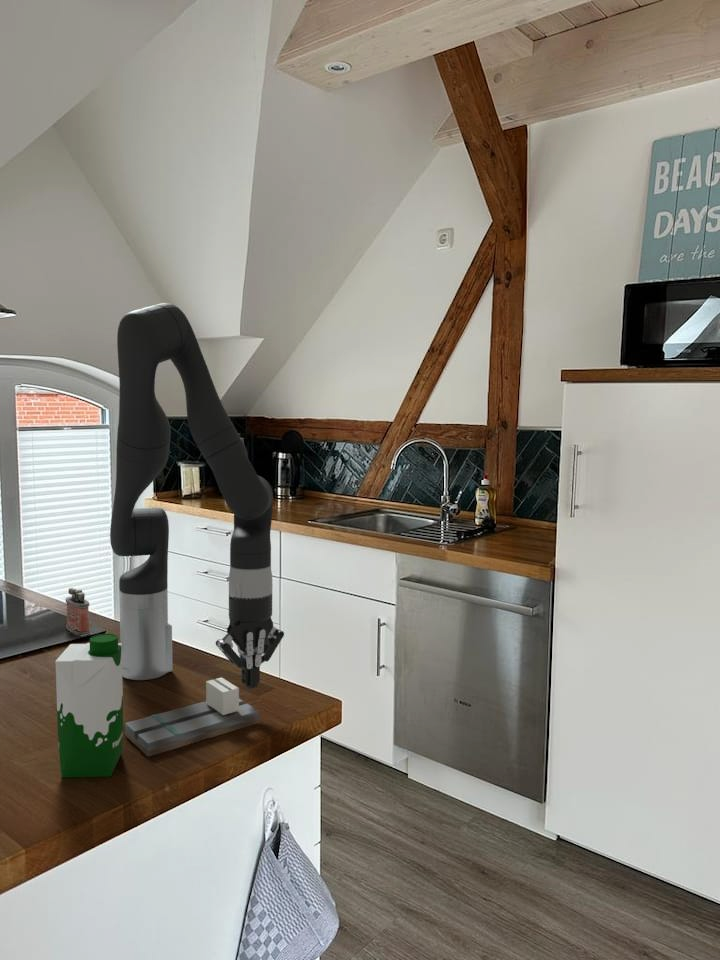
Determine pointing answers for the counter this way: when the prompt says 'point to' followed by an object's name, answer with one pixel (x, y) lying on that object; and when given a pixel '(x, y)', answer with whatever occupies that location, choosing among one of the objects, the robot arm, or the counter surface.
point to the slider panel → (186, 726)
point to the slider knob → (222, 696)
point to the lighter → (77, 612)
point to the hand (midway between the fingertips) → (250, 686)
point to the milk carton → (90, 707)
